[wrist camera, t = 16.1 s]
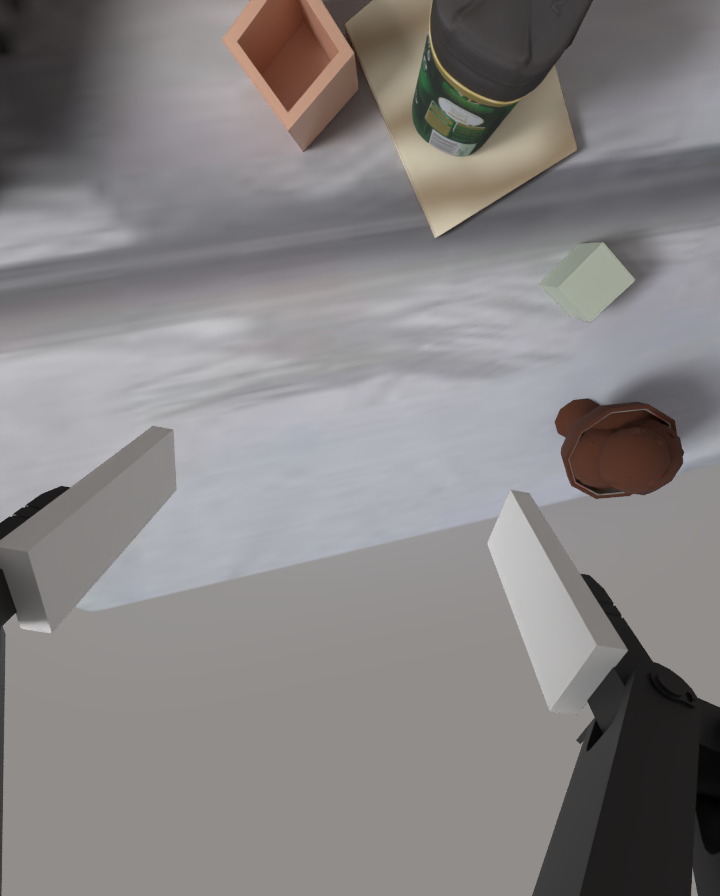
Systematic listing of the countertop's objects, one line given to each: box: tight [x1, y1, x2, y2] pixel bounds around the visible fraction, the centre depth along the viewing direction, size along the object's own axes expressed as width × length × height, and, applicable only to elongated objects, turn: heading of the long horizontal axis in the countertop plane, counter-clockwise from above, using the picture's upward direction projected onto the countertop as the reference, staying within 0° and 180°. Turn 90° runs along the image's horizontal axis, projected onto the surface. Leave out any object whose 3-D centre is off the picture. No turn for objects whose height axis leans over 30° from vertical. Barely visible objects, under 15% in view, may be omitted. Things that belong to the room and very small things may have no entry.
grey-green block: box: [539, 242, 635, 322], centre depth 38 cm, size 5×5×5 cm
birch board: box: [345, 0, 578, 238], centre depth 34 cm, size 18×14×1 cm
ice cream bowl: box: [555, 399, 684, 499], centre depth 41 cm, size 11×11×15 cm
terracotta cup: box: [222, 0, 359, 152], centre depth 31 cm, size 7×7×7 cm
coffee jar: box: [412, 0, 593, 157], centre depth 25 cm, size 10×8×19 cm
